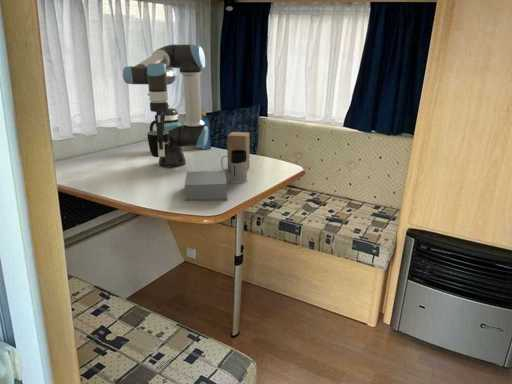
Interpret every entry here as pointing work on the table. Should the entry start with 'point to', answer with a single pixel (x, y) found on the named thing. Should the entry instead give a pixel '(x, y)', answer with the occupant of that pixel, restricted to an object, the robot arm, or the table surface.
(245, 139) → the wooden block
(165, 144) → the mug
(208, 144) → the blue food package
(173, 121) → the coffee press
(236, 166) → the glass holder
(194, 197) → the large grey square box
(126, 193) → the table surface
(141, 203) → the table surface
